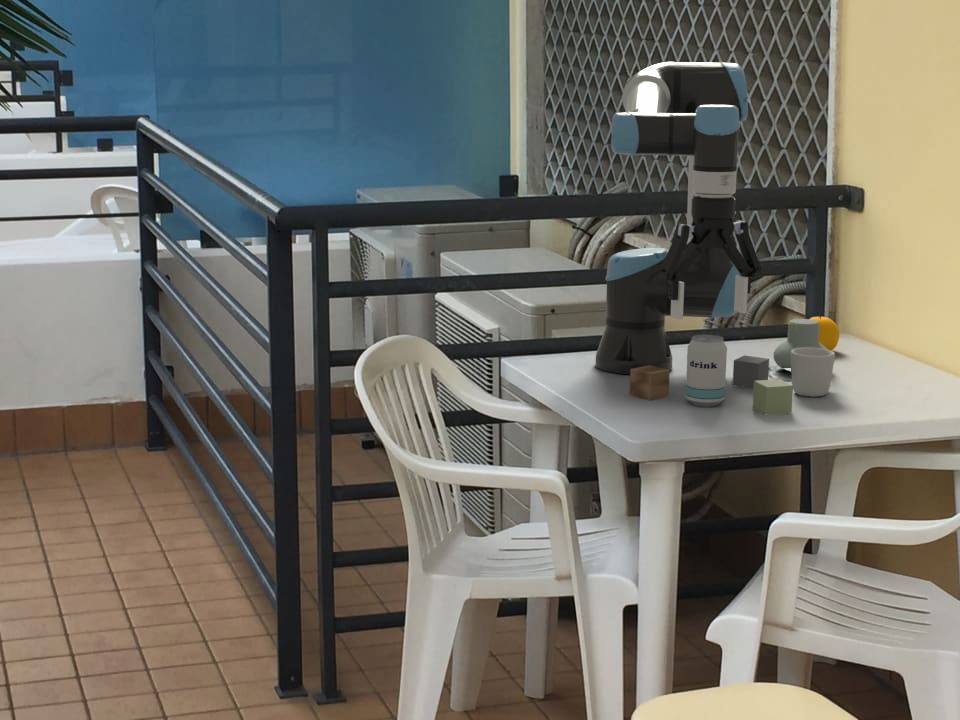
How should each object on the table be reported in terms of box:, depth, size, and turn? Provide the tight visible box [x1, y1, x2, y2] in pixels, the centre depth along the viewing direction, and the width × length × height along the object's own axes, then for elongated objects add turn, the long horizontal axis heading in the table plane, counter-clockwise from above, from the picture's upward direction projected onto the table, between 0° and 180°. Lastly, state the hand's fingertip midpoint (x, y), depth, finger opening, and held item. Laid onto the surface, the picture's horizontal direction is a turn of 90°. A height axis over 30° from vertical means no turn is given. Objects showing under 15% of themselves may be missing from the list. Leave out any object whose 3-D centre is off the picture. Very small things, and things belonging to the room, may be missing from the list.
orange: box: [809, 315, 840, 351], centre depth 306 cm, size 8×8×8 cm
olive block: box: [752, 378, 794, 415], centre depth 259 cm, size 5×5×5 cm
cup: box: [790, 347, 836, 398], centre depth 271 cm, size 11×8×8 cm
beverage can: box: [685, 334, 728, 408], centre depth 263 cm, size 7×7×12 cm
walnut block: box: [629, 365, 671, 401], centre depth 269 cm, size 5×5×5 cm
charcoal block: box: [732, 354, 770, 390], centre depth 277 cm, size 5×5×5 cm
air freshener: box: [773, 318, 828, 369], centre depth 288 cm, size 11×8×10 cm
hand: (708, 315), depth 260 cm, fingers open, 13 cm apart
